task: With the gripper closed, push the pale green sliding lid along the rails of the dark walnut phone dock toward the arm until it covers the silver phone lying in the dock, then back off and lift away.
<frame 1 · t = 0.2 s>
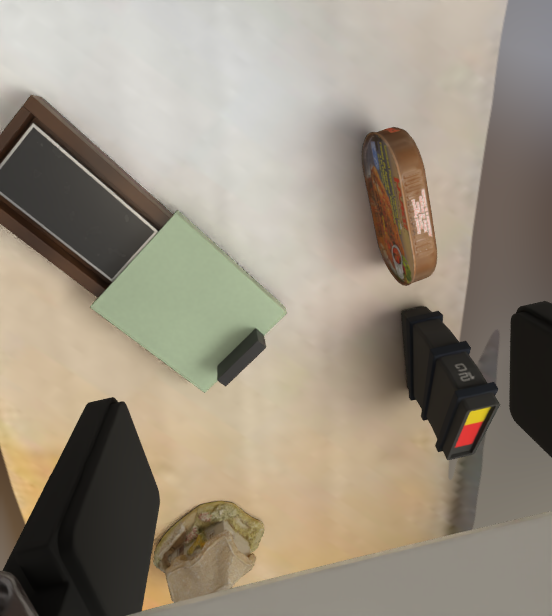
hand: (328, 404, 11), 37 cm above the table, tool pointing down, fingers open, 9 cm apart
phone: (77, 206, 43), point 1 cm above the table, touching dock
ceramic model: (210, 535, 61), on the table
lid: (191, 312, 45), point 4 cm above the table, slide at 0.0 cm
tin: (383, 202, 47), on the table
dock: (137, 252, 46), on the table
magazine: (415, 355, 54), on the table
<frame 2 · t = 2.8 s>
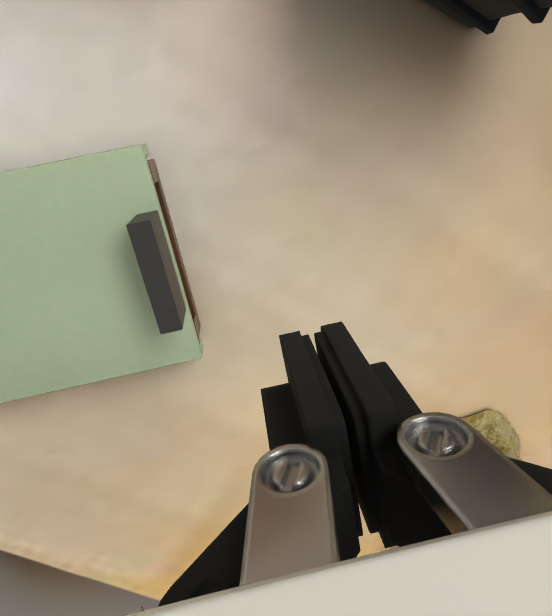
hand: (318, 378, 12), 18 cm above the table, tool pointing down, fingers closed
ceramic model: (447, 476, 39), on the table
lid: (39, 293, 25), point 4 cm above the table, slide at 0.0 cm
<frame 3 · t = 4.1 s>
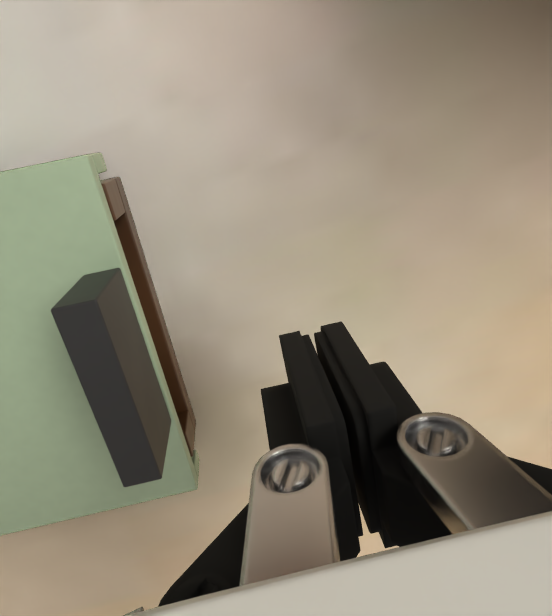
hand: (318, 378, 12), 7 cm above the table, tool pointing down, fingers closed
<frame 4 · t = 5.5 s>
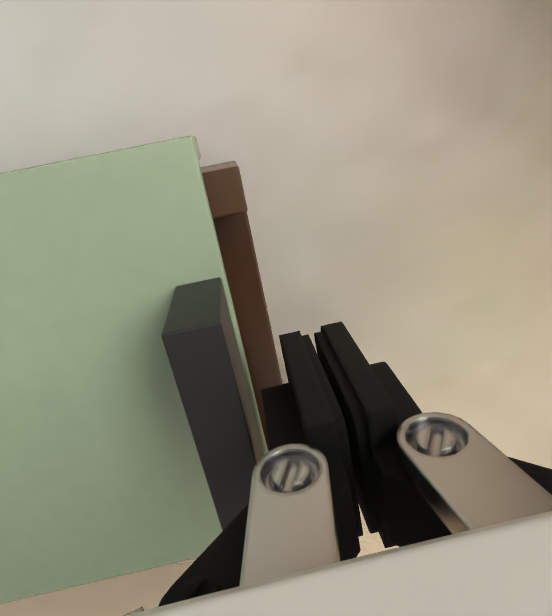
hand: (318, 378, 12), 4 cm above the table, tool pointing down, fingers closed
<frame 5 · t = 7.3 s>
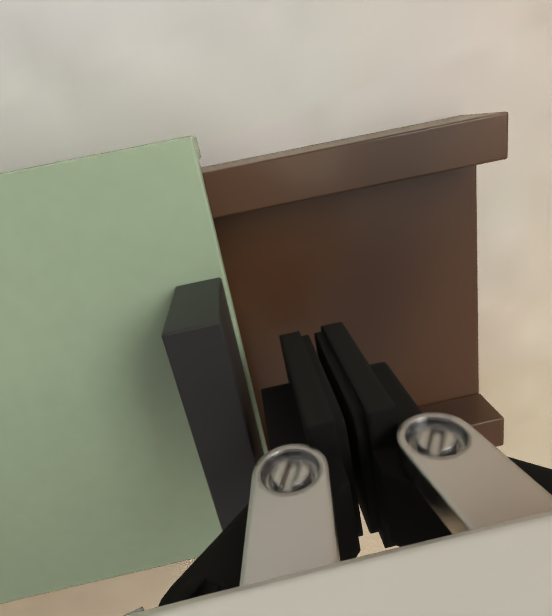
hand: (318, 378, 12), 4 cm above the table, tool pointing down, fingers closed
dock: (48, 370, 15), on the table
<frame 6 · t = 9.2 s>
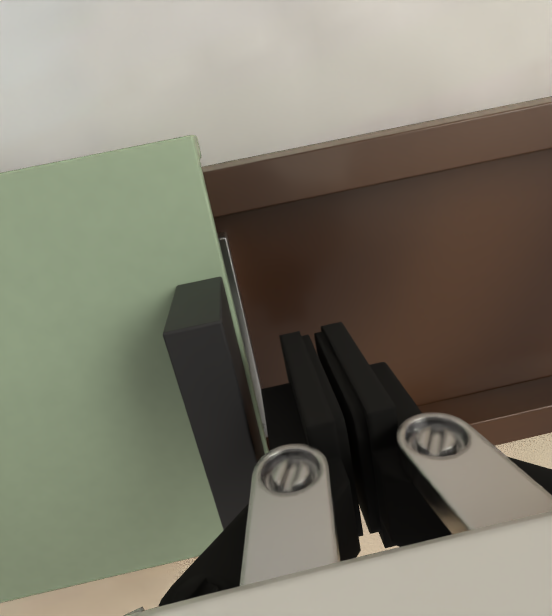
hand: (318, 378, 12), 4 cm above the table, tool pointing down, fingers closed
phone: (41, 380, 15), point 1 cm above the table, touching dock
dock: (246, 326, 16), on the table
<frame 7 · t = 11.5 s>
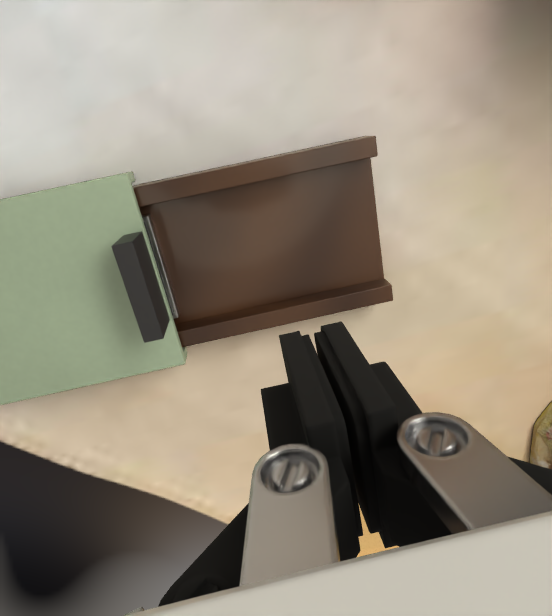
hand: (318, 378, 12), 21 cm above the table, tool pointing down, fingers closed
phone: (64, 287, 30), point 1 cm above the table, touching dock
lid: (37, 305, 27), point 4 cm above the table, slide at 15.0 cm
dock: (165, 263, 31), on the table
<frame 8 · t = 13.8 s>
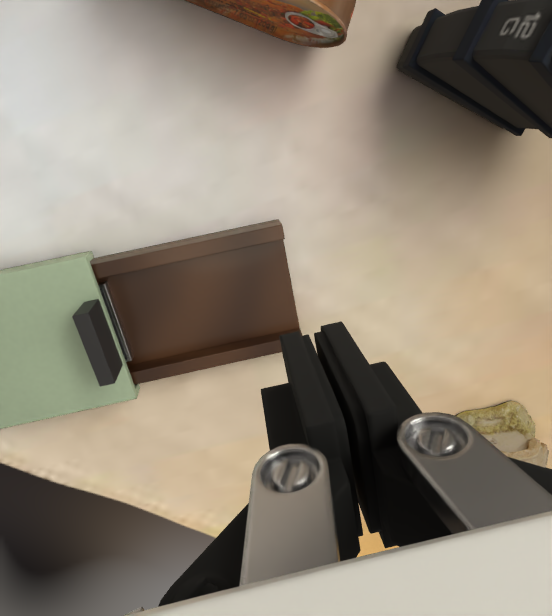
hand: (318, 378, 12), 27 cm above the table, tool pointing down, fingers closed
phone: (39, 337, 38), point 1 cm above the table, touching dock
ceramic model: (477, 453, 49), on the table
lid: (16, 356, 35), point 4 cm above the table, slide at 15.0 cm
dock: (121, 316, 39), on the table
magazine: (471, 87, 35), on the table
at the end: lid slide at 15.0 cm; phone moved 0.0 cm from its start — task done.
